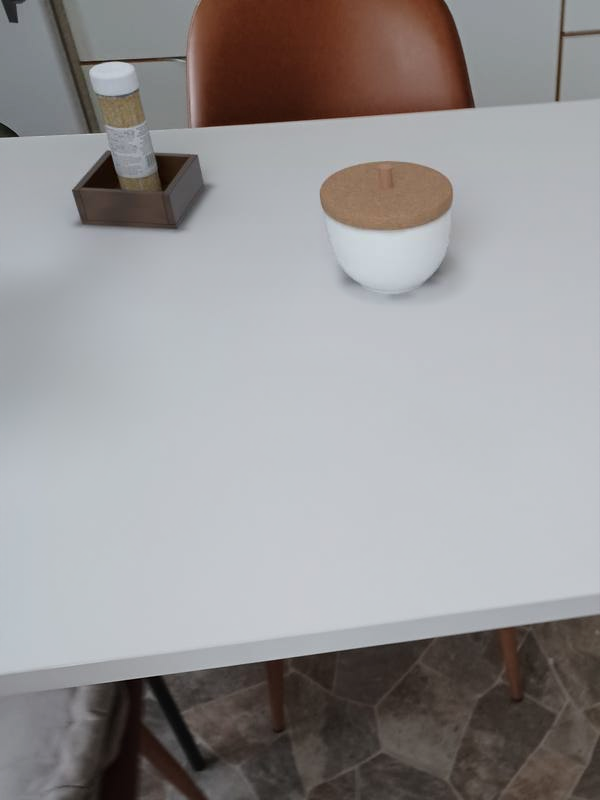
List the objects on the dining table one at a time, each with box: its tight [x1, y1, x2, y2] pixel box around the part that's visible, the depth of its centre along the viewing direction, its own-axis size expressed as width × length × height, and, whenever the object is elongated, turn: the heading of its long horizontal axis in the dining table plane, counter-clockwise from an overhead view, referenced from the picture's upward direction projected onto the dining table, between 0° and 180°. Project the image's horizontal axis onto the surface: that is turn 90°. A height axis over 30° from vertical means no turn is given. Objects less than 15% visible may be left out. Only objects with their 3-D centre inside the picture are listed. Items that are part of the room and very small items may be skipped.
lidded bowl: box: [319, 160, 454, 295], centre depth 93 cm, size 13×13×11 cm
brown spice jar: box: [88, 61, 162, 191], centre depth 102 cm, size 5×5×13 cm
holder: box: [71, 149, 205, 230], centre depth 106 cm, size 11×11×4 cm
